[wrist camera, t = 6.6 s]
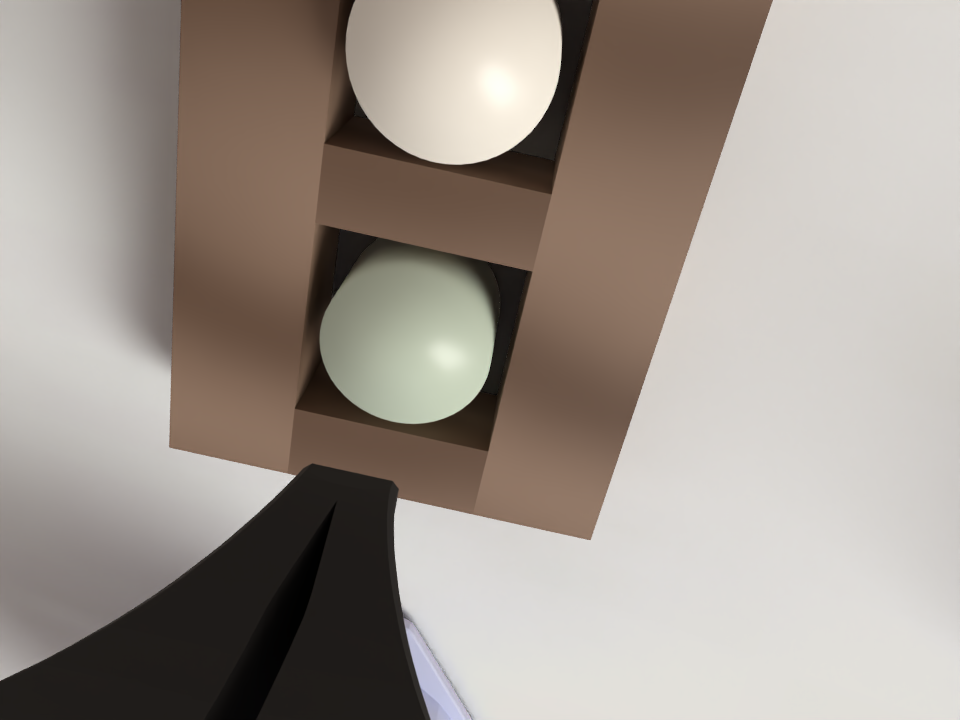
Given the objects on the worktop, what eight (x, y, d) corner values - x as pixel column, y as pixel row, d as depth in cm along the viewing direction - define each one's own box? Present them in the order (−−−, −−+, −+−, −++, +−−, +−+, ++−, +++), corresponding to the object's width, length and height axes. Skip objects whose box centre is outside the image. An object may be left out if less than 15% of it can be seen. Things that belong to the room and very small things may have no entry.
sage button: (483, 383, 21) (473, 439, 18) (338, 351, 21) (311, 403, 18) (515, 247, 19) (508, 290, 17) (357, 211, 19) (329, 250, 17)
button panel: (588, 477, 22) (590, 540, 20) (209, 393, 22) (169, 447, 20) (935, -603, 12) (1014, -715, 10) (270, -757, 12) (205, -903, 10)
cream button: (538, 150, 17) (533, 184, 15) (364, 110, 17) (333, 139, 15) (583, -43, 15) (585, -37, 13) (390, -87, 15) (359, -88, 13)
